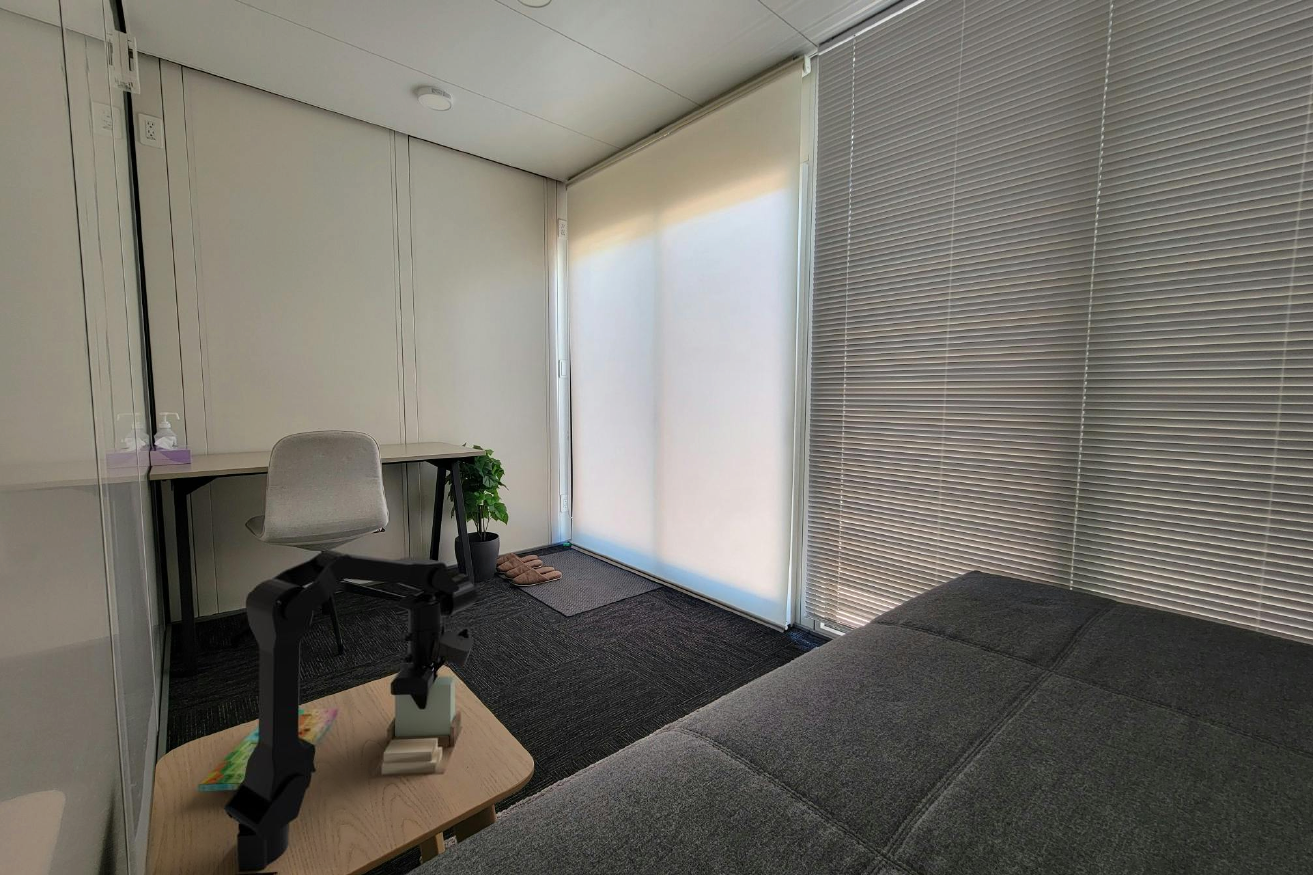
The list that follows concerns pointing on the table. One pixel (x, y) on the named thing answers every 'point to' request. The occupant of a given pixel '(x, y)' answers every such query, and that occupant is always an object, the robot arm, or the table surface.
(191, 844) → the table surface
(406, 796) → the table surface
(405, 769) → the offcut stack
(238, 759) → the puzzle game
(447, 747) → the rack
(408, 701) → the board
